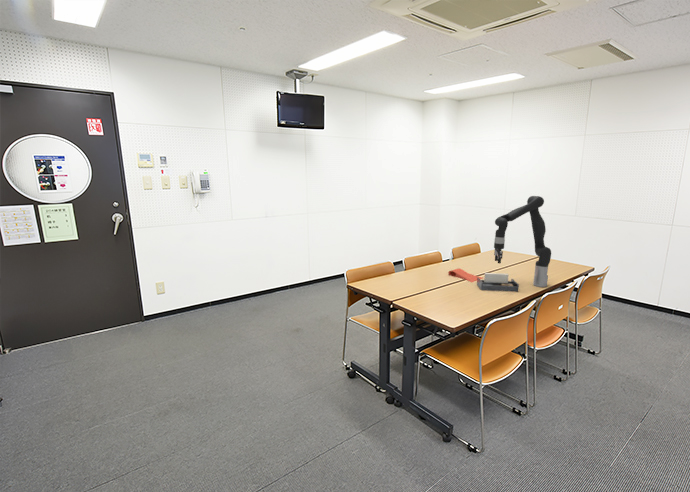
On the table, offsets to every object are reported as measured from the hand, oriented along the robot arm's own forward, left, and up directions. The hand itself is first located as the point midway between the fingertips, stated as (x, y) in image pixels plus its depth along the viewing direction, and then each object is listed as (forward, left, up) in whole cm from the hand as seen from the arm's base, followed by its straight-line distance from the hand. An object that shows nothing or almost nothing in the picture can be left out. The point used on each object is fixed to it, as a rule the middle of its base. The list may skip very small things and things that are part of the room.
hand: (497, 262), depth 283 cm
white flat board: (0, 0, -21) cm, 21 cm away
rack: (0, +4, -21) cm, 21 cm away
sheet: (+19, -24, -22) cm, 37 cm away
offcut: (-7, +7, -19) cm, 21 cm away
